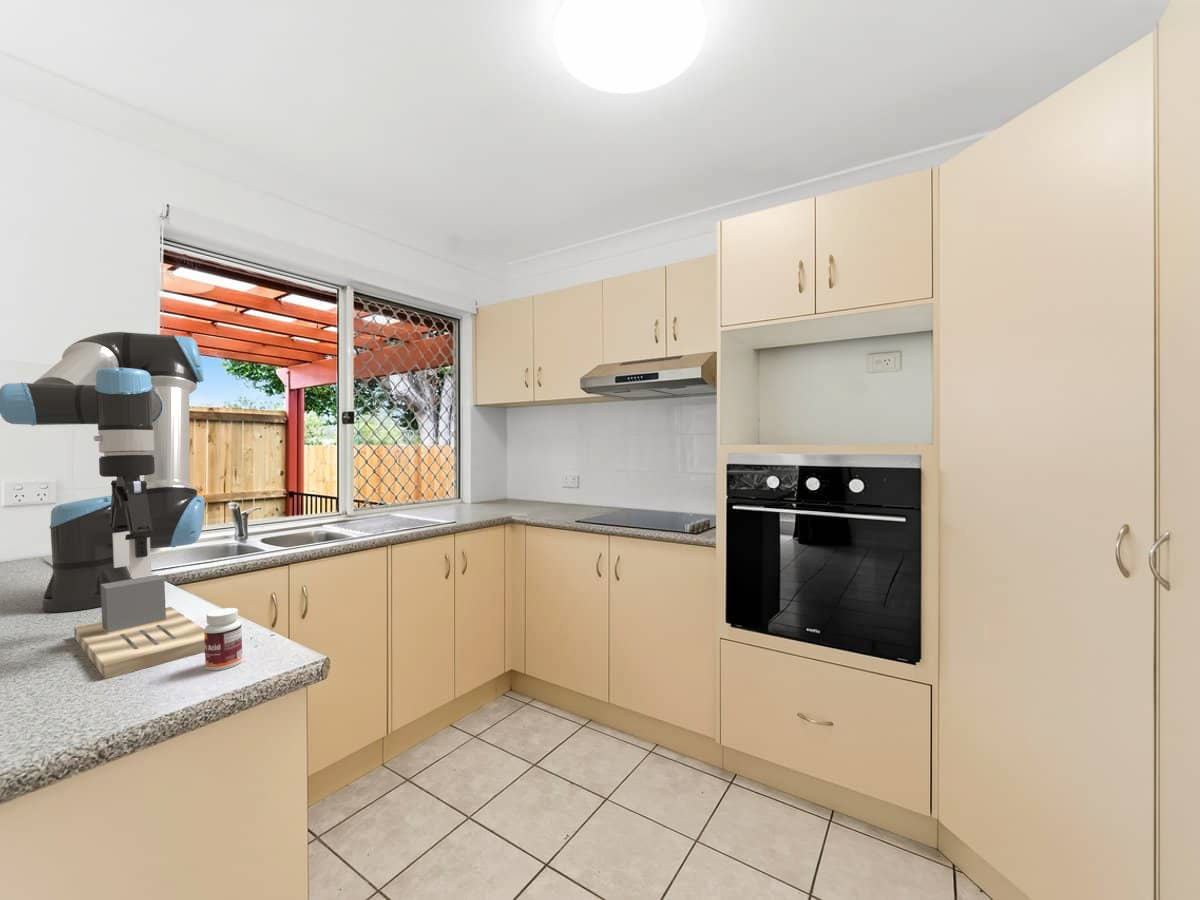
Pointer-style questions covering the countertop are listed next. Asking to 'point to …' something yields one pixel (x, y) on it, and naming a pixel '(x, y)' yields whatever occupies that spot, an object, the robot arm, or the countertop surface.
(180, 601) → the countertop surface
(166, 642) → the board
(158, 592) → the block
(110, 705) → the countertop surface
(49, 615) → the countertop surface
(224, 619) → the pill bottle
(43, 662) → the countertop surface
